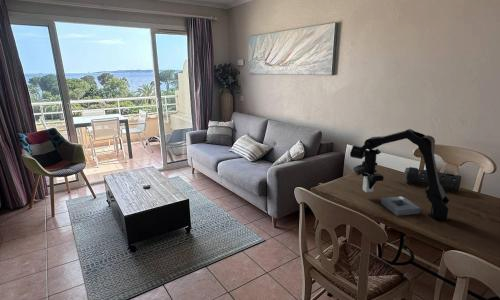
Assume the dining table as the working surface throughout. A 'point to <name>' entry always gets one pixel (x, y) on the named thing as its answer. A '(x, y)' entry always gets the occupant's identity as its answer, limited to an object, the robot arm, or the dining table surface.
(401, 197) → the socket plate
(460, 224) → the dining table surface
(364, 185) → the block
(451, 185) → the muzzle brake
